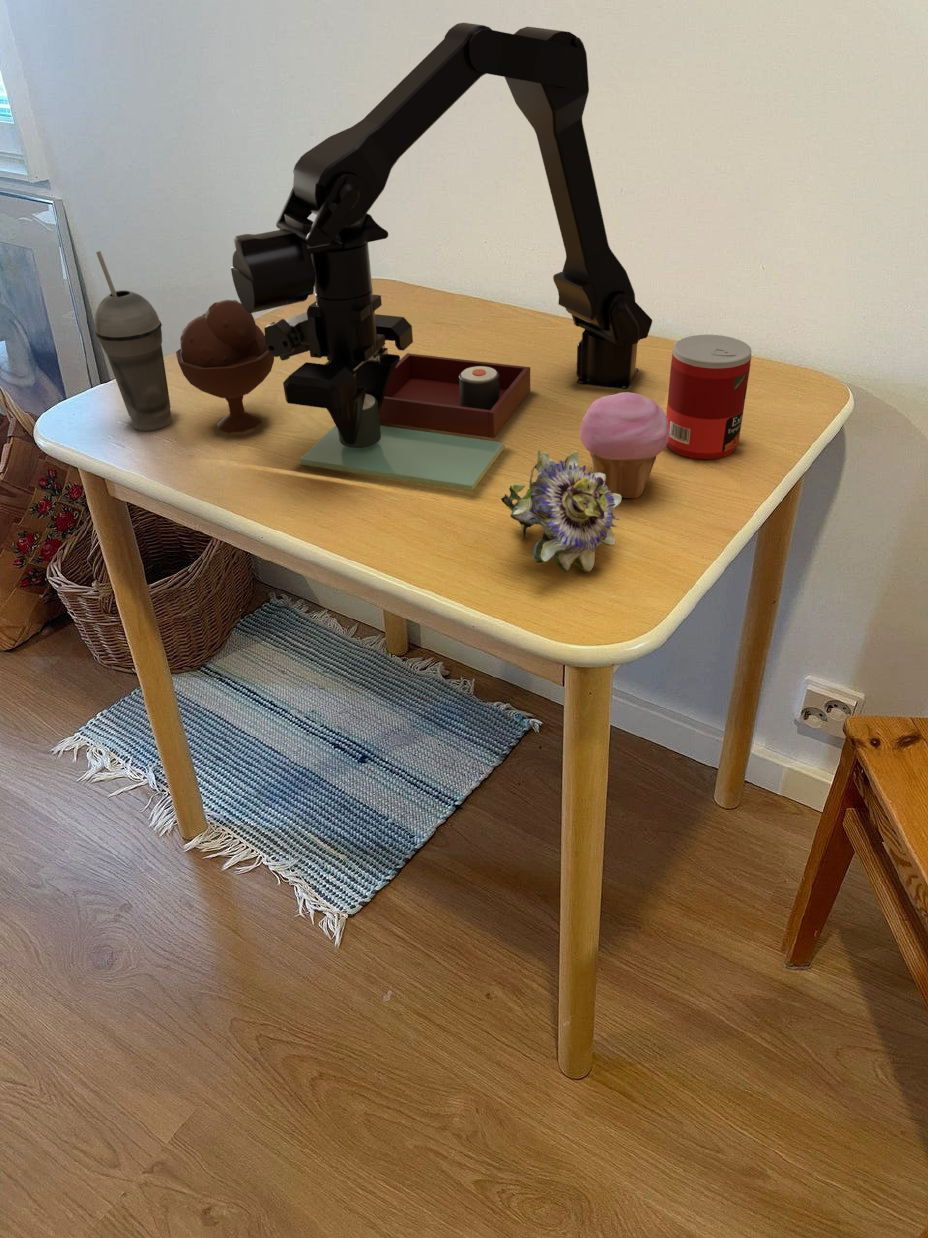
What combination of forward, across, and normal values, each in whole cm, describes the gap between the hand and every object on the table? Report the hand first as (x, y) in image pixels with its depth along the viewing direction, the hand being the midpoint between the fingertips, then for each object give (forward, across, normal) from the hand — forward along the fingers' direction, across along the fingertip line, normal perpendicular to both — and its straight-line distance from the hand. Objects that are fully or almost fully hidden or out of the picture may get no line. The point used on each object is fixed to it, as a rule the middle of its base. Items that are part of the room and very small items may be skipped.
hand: (360, 433), depth 105 cm
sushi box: (+2, -14, +5) cm, 15 cm away
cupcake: (+3, -1, +29) cm, 29 cm away
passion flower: (+3, +12, +26) cm, 29 cm away
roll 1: (+1, 0, 0) cm, 1 cm away
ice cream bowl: (+3, -2, -17) cm, 17 cm away
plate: (+2, 0, +5) cm, 6 cm away
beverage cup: (+3, 0, -28) cm, 28 cm away
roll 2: (+2, -13, +9) cm, 16 cm away
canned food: (+3, -13, +35) cm, 37 cm away
